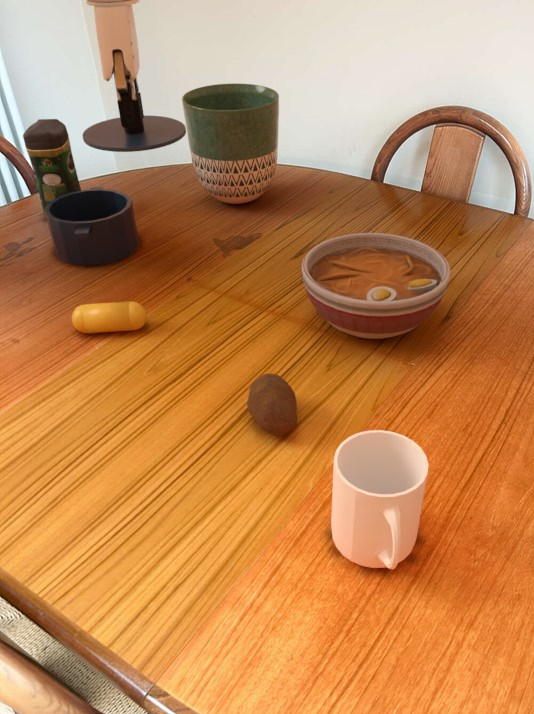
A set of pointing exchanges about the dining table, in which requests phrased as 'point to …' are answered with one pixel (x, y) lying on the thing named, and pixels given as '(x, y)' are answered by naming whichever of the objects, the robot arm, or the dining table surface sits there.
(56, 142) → the coffee jar
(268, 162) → the planter
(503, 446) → the dining table surface
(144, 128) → the lid
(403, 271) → the bowl
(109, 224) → the pot
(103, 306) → the yellow capsule
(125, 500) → the dining table surface
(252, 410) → the potato
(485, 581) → the dining table surface
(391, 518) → the mug
